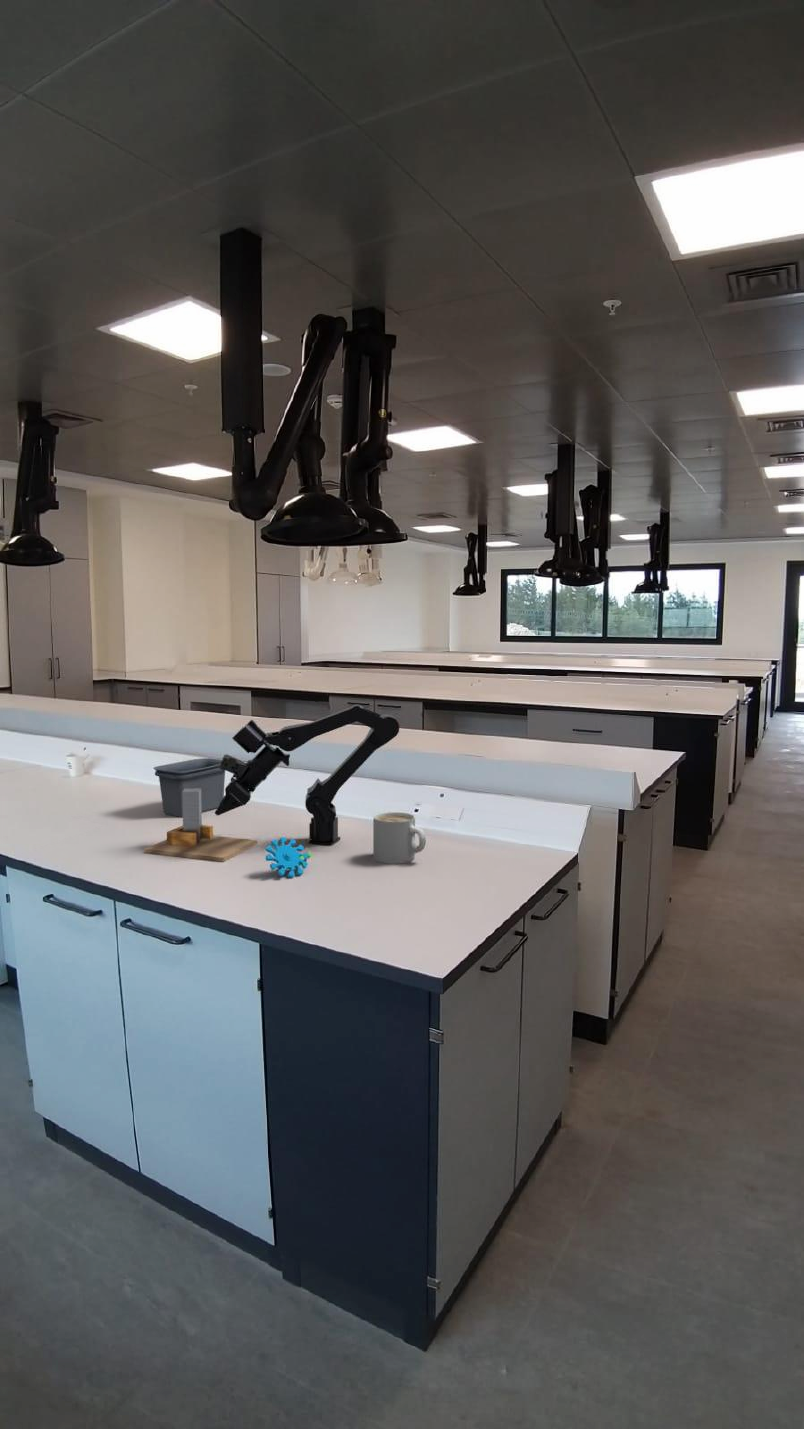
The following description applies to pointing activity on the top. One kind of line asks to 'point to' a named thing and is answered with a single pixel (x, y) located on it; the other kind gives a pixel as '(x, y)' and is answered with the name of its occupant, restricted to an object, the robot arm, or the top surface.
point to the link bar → (192, 812)
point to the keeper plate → (200, 845)
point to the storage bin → (191, 783)
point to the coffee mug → (396, 838)
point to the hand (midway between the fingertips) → (218, 809)
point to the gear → (287, 857)
